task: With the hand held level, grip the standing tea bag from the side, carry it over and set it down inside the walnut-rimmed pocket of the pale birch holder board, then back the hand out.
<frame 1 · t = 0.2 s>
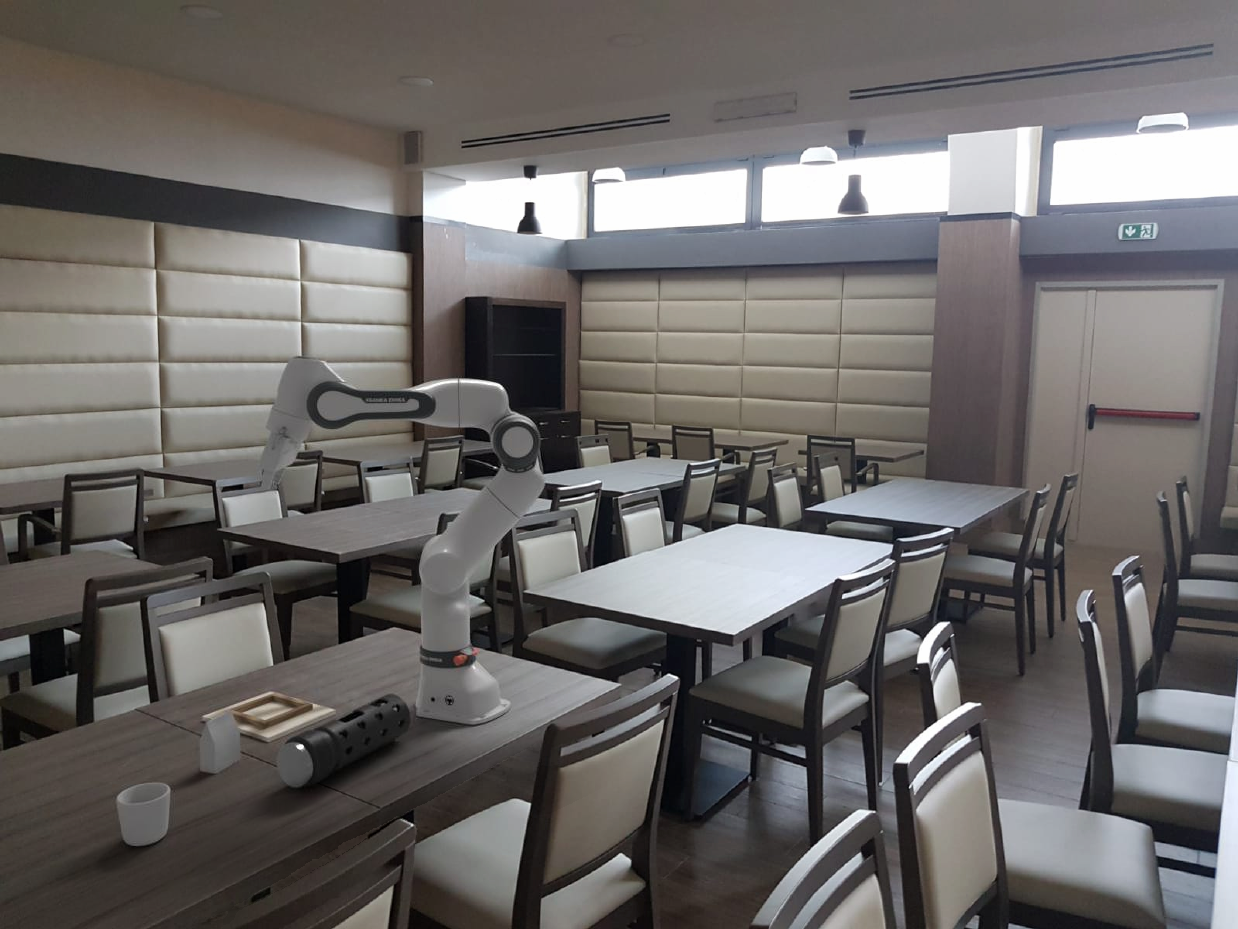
hand: (269, 486, 200), 52 cm above the table, tool tilted 20°, fingers open, 8 cm apart
cup: (149, 835, 153), on the table
tea bag: (221, 766, 179), on the table
holder: (269, 717, 203), on the table
muzzle brake: (347, 766, 179), on the table
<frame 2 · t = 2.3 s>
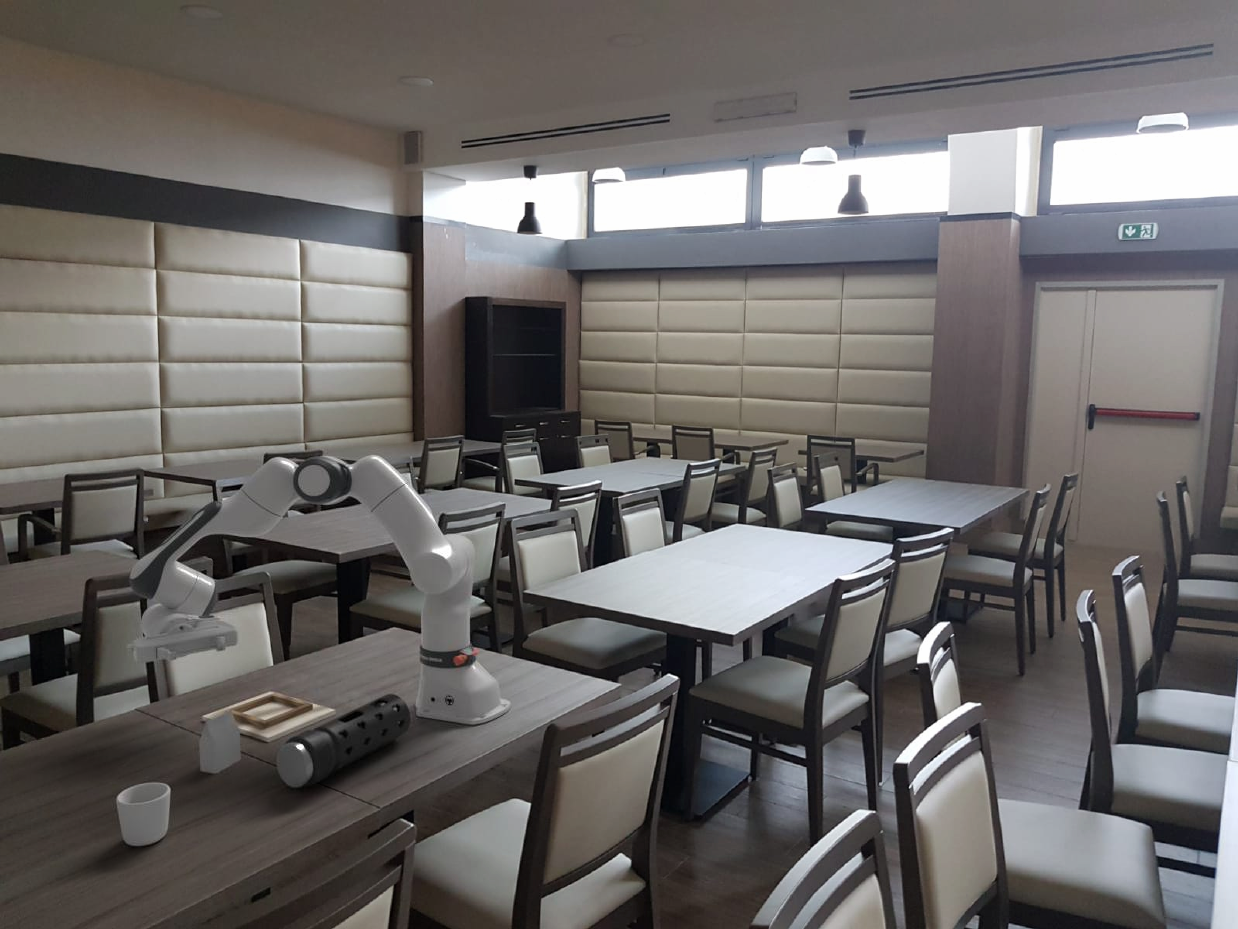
hand: (197, 651, 186), 20 cm above the table, tool horizontal, fingers open, 8 cm apart
nothing on the table moved.
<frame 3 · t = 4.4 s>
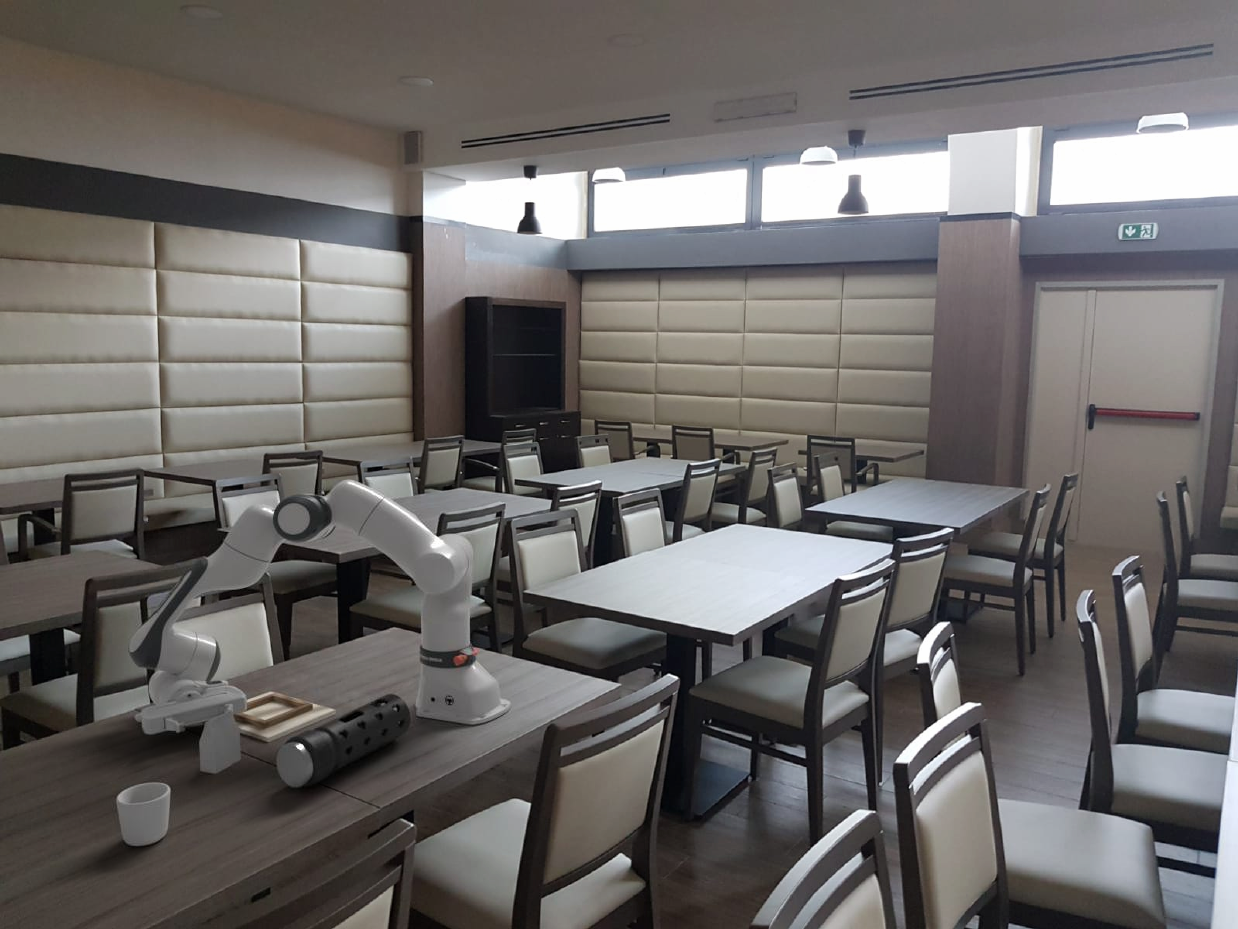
hand: (205, 722, 185), 6 cm above the table, tool horizontal, fingers open, 8 cm apart
nothing on the table moved.
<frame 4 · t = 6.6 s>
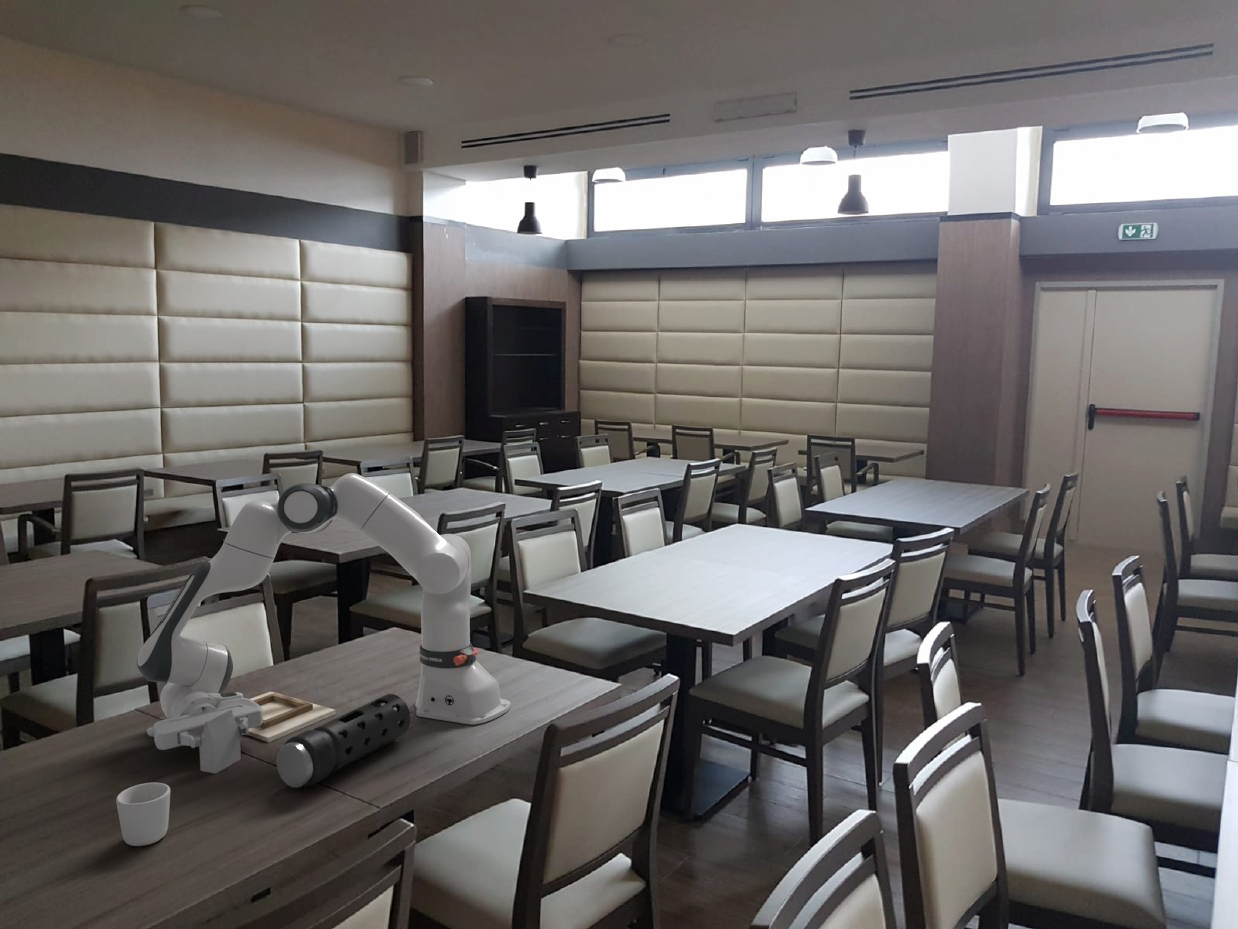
hand: (221, 737, 178), 6 cm above the table, tool horizontal, fingers closed on tea bag, 8 cm apart
tea bag: (221, 766, 179), on the table, touching gripper
everything else where it was.
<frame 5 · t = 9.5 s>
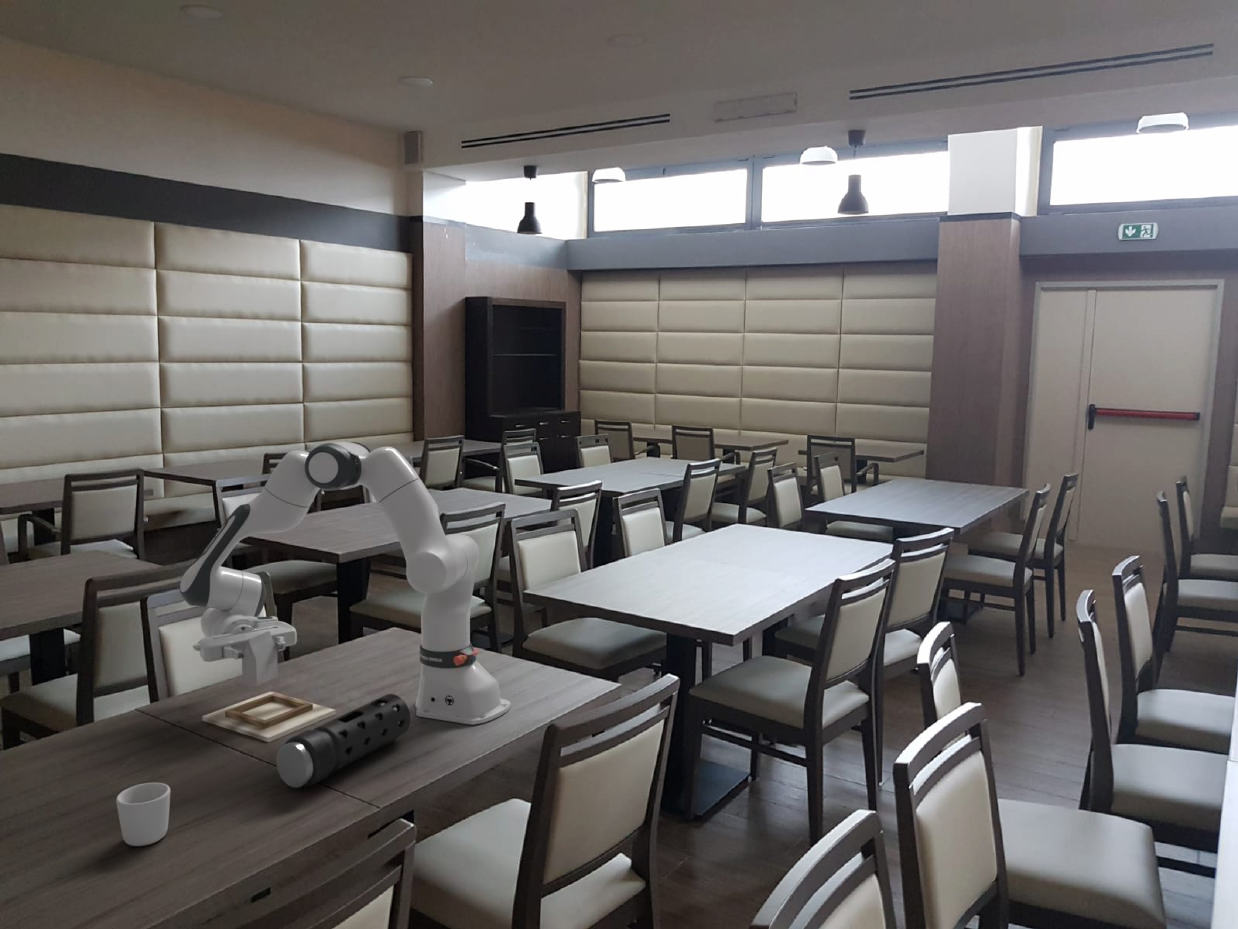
hand: (261, 651, 196), 17 cm above the table, tool horizontal, fingers closed on tea bag, 8 cm apart
tea bag: (260, 681, 198), point 10 cm above the table, touching gripper
everything else where it was.
when the fingers open (8 cm above the table, at t = 12.6 s): tea bag stays where it is, resting on holder.
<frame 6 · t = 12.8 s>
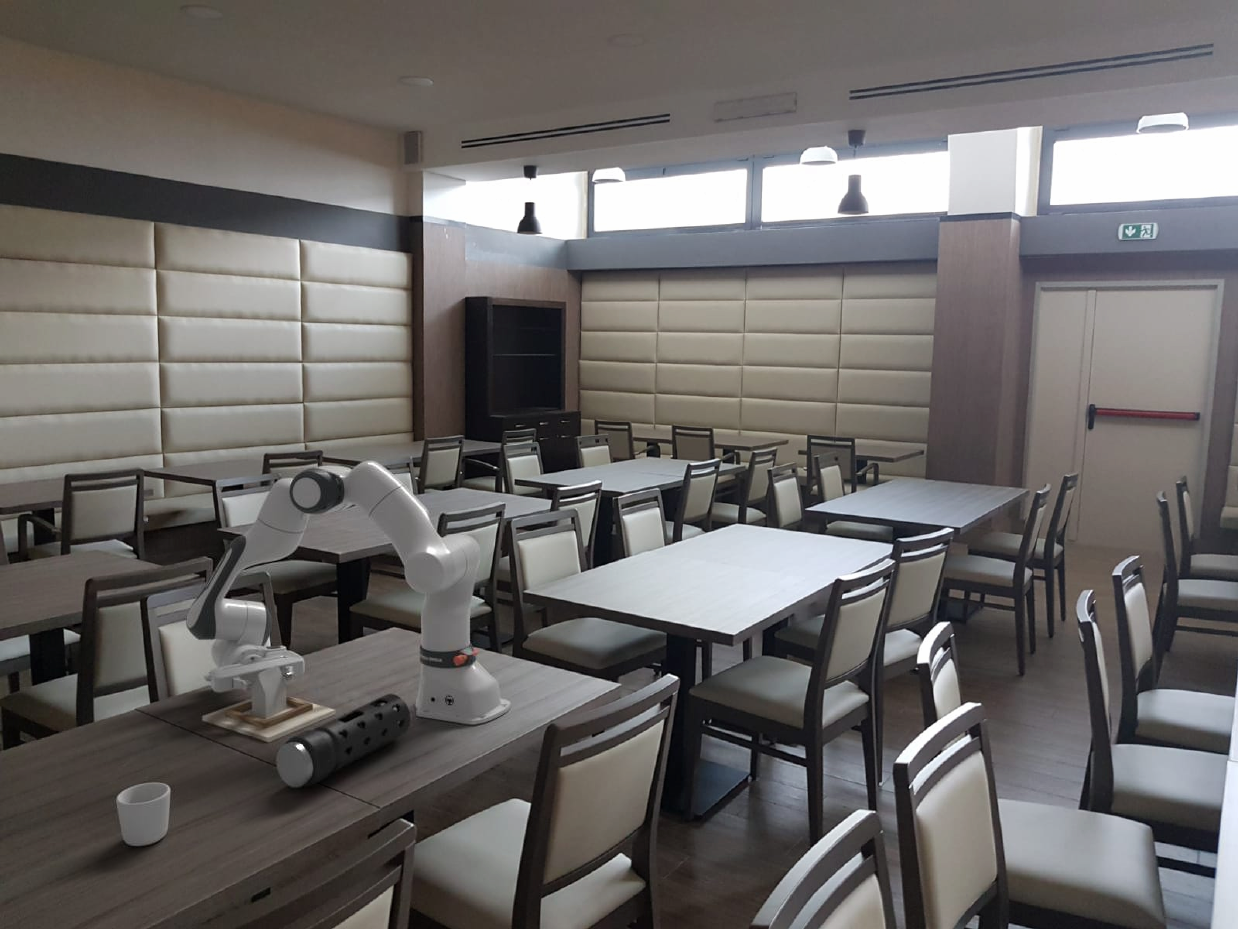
hand: (269, 681, 201), 8 cm above the table, tool horizontal, fingers open, 8 cm apart
tea bag: (269, 713, 203), point 1 cm above the table, touching holder
everything else where it was.
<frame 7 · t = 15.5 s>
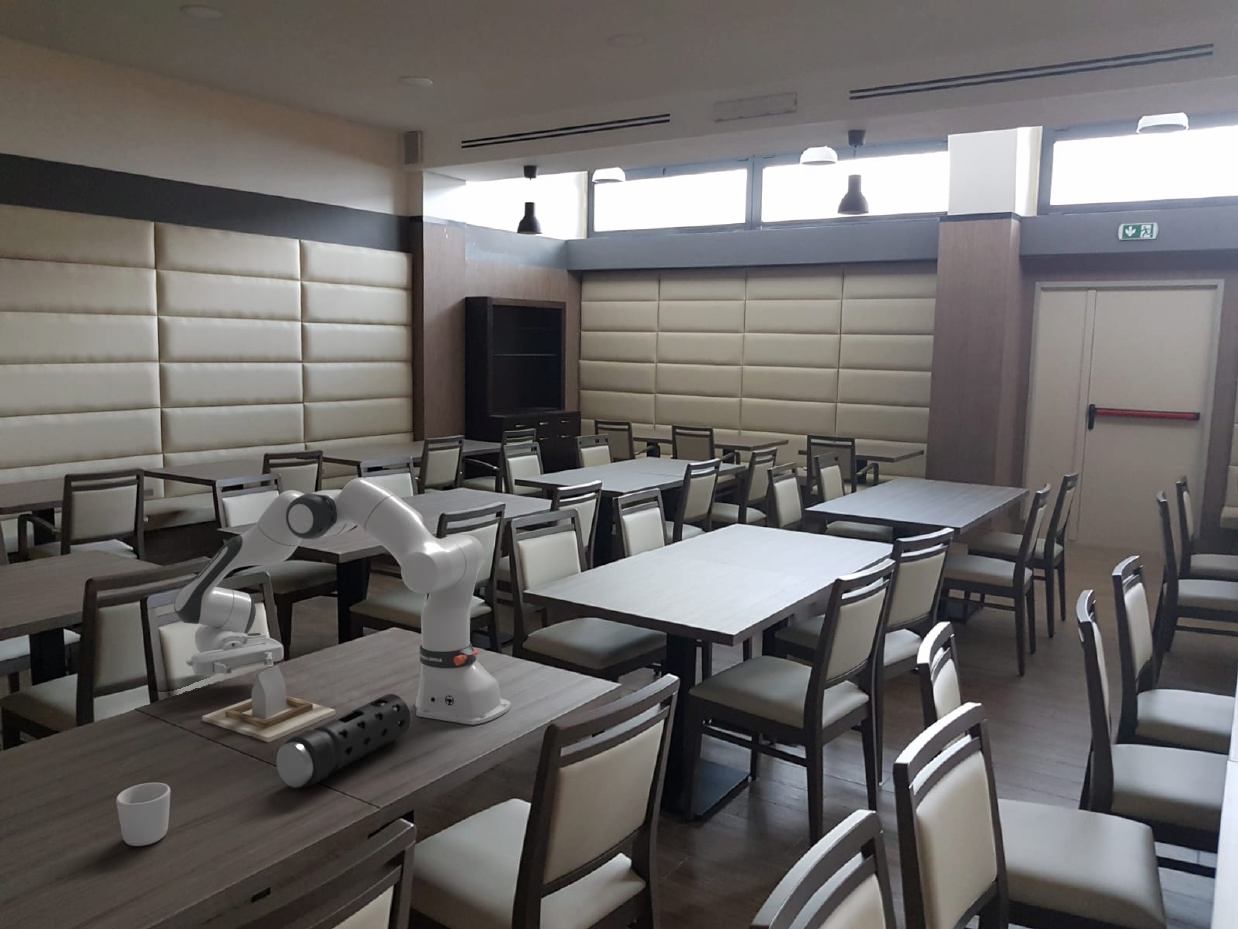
hand: (249, 666, 211), 9 cm above the table, tool horizontal, fingers open, 8 cm apart
nothing on the table moved.
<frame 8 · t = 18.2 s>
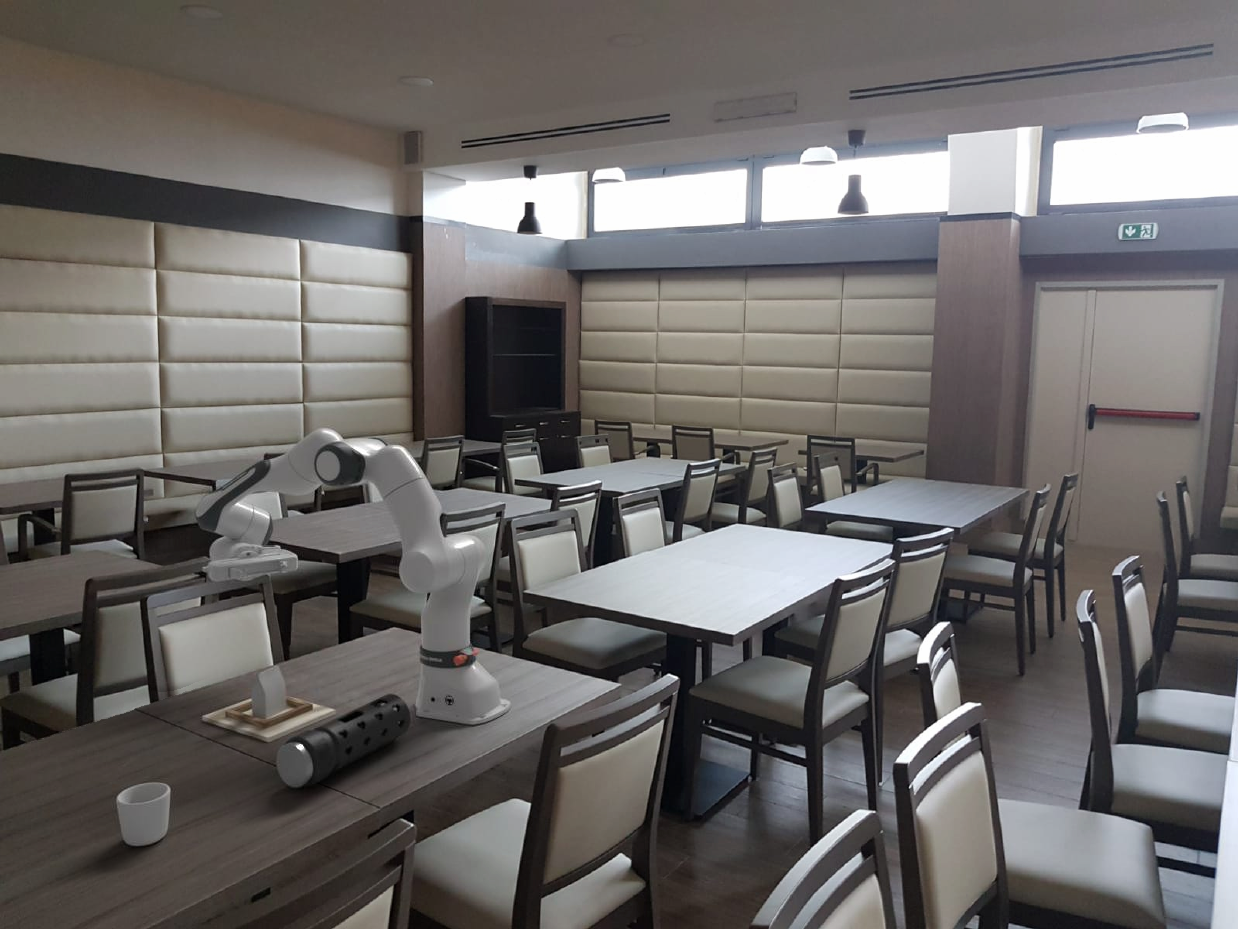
hand: (264, 572, 213), 30 cm above the table, tool horizontal, fingers open, 8 cm apart
nothing on the table moved.
at the end: tea bag inside the target area on the holder (0.0 cm from its centre), point 0.8 cm above the holder's base; tea bag tilted 0°; the gripper is holding nothing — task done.
